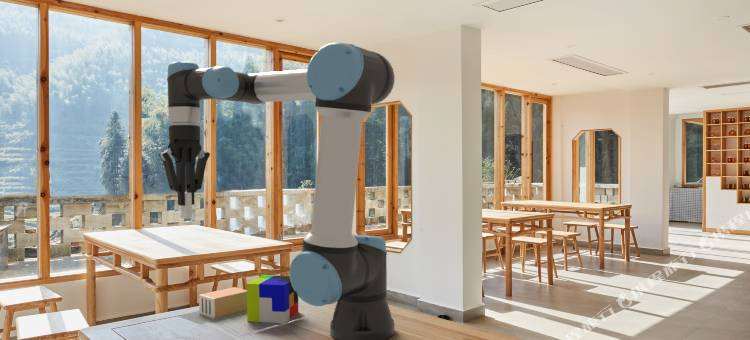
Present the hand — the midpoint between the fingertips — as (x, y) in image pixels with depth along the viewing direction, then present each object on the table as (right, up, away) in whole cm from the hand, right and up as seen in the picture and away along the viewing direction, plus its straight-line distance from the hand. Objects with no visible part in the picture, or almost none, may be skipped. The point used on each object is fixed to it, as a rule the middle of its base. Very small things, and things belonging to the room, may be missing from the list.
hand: (186, 218), depth 140 cm
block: (+4, -23, +4) cm, 24 cm away
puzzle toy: (+21, -26, +3) cm, 34 cm away
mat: (+6, -26, +7) cm, 28 cm away
